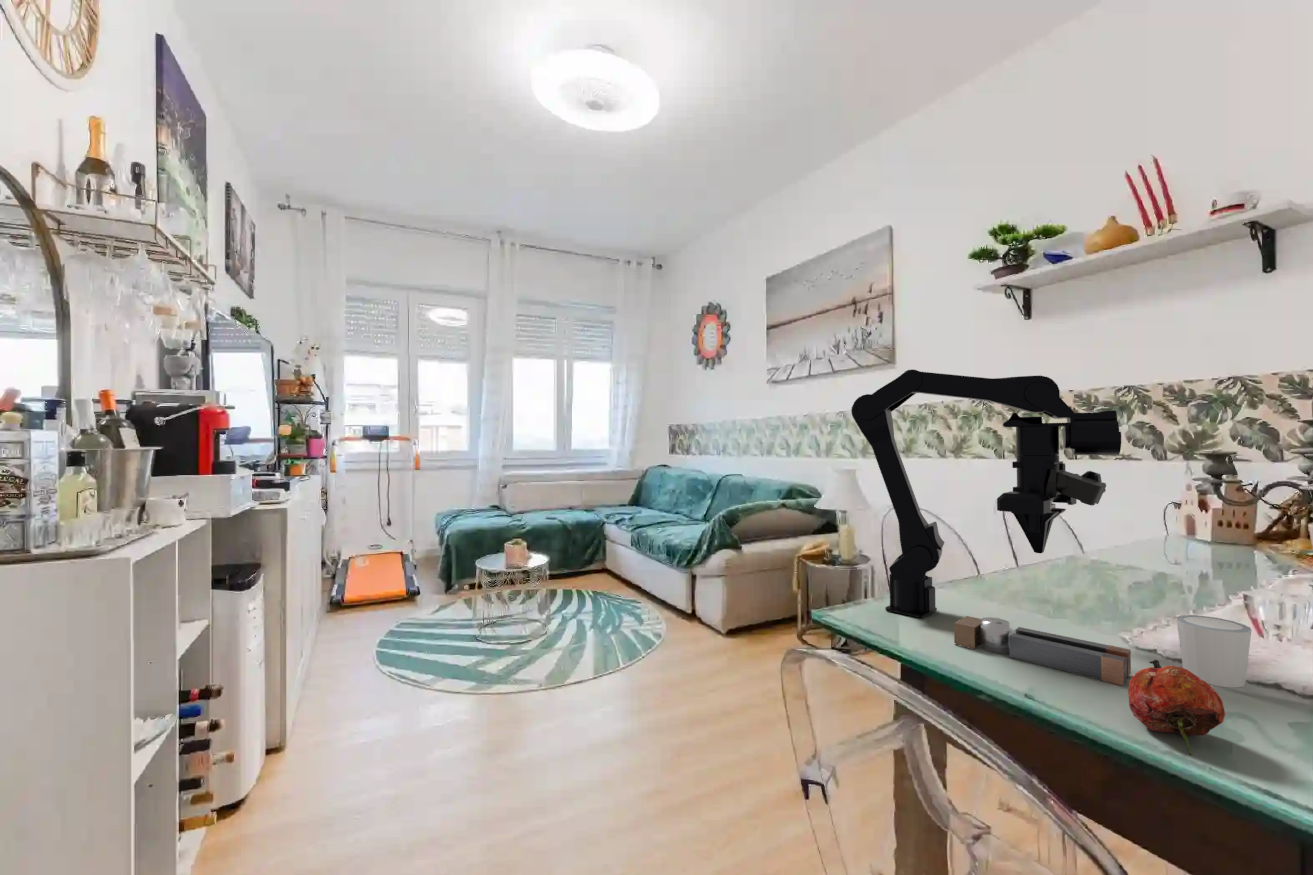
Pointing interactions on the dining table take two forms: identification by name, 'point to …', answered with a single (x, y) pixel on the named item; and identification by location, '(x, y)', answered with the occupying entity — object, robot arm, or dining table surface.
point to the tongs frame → (1039, 650)
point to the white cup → (1214, 649)
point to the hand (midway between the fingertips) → (1039, 552)
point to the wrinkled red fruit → (1174, 701)
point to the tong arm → (1079, 644)
